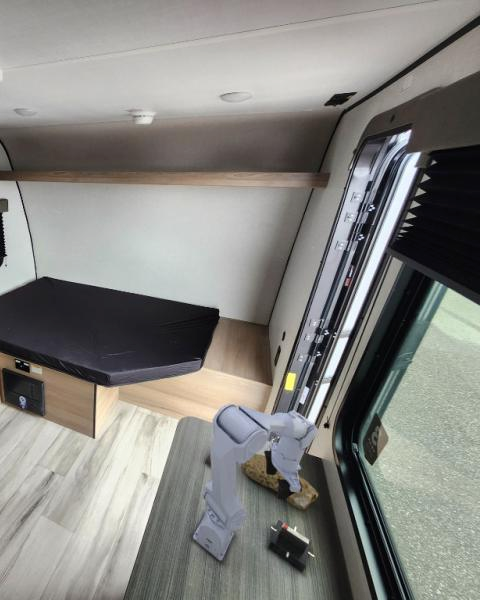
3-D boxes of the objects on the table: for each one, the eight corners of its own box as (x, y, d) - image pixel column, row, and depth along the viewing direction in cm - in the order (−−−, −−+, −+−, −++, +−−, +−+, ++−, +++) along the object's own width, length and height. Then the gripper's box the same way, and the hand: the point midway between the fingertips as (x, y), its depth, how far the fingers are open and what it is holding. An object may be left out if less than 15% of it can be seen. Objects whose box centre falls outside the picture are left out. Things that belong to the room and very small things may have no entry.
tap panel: (306, 580, 78) (310, 573, 77) (262, 548, 84) (265, 541, 83) (313, 548, 85) (317, 541, 84) (272, 520, 91) (275, 513, 90)
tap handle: (305, 548, 82) (309, 539, 81) (304, 552, 81) (308, 543, 80) (279, 530, 86) (283, 522, 84) (278, 534, 85) (282, 526, 83)
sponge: (313, 500, 99) (257, 447, 112) (325, 490, 94) (265, 436, 107) (288, 525, 94) (233, 466, 107) (299, 516, 89) (240, 456, 102)
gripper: (319, 478, 78) (302, 512, 84) (292, 433, 92) (279, 466, 97) (289, 473, 79) (274, 508, 85) (267, 430, 93) (255, 462, 98)
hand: (275, 485), depth 91 cm, fingers open, 7 cm apart
